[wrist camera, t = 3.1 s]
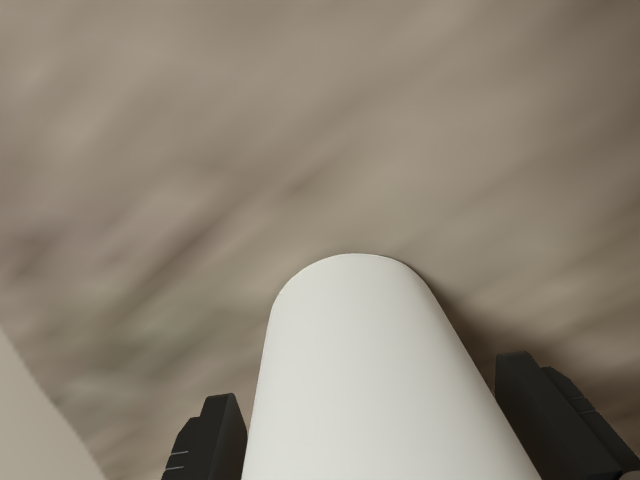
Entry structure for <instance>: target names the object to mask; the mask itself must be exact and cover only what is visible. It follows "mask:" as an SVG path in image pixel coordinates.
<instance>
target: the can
mask: <svg viewBox="0 0 640 480" xmlns="http://www.w3.org/2000/svg"><path fill="white" fill-rule="evenodd" d="M241 480H542V479H541V477H540V476H539V474H538V472H537V470H536V469H535V467H534V465H533V464H532V462H531V460H530V458H529V457H528V455H527V453H526V452H525V450H524V448H523V446H522V445H521V443H520V441H519V440H518V438H517V436H516V434H515V433H514V431H513V429H512V428H511V426H510V424H509V422H508V421H507V419H506V417H505V416H504V414H503V412H502V410H501V409H500V407H499V405H498V404H497V402H496V400H495V398H494V397H493V395H492V393H491V392H490V390H489V388H488V386H487V385H486V383H485V381H484V380H483V378H482V376H481V374H480V373H479V371H478V369H477V368H476V366H475V364H474V363H473V361H472V359H471V357H470V356H469V354H468V352H467V351H466V349H465V347H464V345H463V344H462V342H461V340H460V339H459V337H458V335H457V334H456V332H455V330H454V329H453V327H452V325H451V323H450V322H449V320H448V318H447V317H446V315H445V313H444V312H443V310H442V308H441V307H440V305H439V303H438V302H437V300H436V298H435V297H434V295H433V294H432V292H431V291H430V289H429V287H428V286H427V285H426V283H425V282H424V281H423V280H422V279H421V278H420V277H419V276H418V275H417V274H416V273H415V272H414V271H413V270H412V269H410V268H409V267H408V266H406V265H405V264H403V263H401V262H399V261H397V260H394V259H391V258H388V257H384V256H379V255H372V254H342V255H336V256H332V257H328V258H325V259H322V260H320V261H318V262H315V263H313V264H311V265H309V266H308V267H306V268H304V269H303V270H301V271H300V272H299V273H297V274H296V275H295V276H294V277H293V278H291V279H290V280H289V281H288V282H287V284H286V285H285V286H284V287H283V288H282V290H281V291H280V293H279V294H278V296H277V298H276V300H275V302H274V304H273V307H272V310H271V313H270V318H269V322H268V327H267V333H266V338H265V344H264V349H263V355H262V361H261V367H260V372H259V378H258V384H257V390H256V395H255V401H254V407H253V413H252V419H251V425H250V430H249V436H248V442H247V448H246V454H245V460H244V466H243V472H242V478H241Z"/></svg>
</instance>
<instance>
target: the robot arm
mask: <svg viewBox="0 0 640 480" xmlns="http://www.w3.org/2000/svg"><path fill="white" fill-rule="evenodd" d="M495 397H496V402H497V404H498V405H499V407H500V409H501V410H502V412H503V414H504V416H505V417H506V419H507V421H508V422H509V424H510V426H511V428H512V429H513V431H514V433H515V434H516V436H517V438H518V440H519V441H520V443H521V445H522V446H523V448H524V450H525V452H526V453H527V455H528V457H529V458H530V460H531V462H532V464H533V465H534V467H535V469H536V470H537V472H538V474H539V476H540V477H541V479H542V480H640V459H639V458H638V457H637V456H636V455H635V454H634V453H633V451H632V450H631V449H630V448H629V447H628V446H627V445H626V443H625V442H624V441H623V440H622V439H621V438H620V437H619V435H618V434H617V433H616V432H615V431H614V430H613V429H612V427H611V426H610V425H609V424H608V423H607V422H606V421H605V419H604V418H603V417H602V416H601V415H600V414H599V413H598V412H596V410H595V408H594V407H593V406H592V404H591V403H590V402H589V401H588V400H587V399H585V398H584V396H583V394H582V393H581V392H580V391H579V390H578V388H577V387H576V386H575V385H574V384H573V383H572V382H571V380H570V379H568V378H567V377H565V376H564V375H562V374H561V373H559V372H558V371H556V370H555V369H553V368H551V367H543V368H540V367H539V365H538V364H537V363H536V362H535V360H534V359H533V358H532V357H531V355H530V354H529V353H528V352H526V351H518V352H512V353H505V354H498V355H497V357H496V377H495ZM247 442H248V438H247V430H246V426H245V423H244V420H243V417H242V415H241V412H240V409H239V406H238V403H237V400H236V397H235V395H234V394H233V393H228V394H221V395H214V396H208V397H207V398H206V400H205V402H204V405H203V408H202V411H201V414H200V417H193V418H190V419H189V420H188V422H187V423H186V424H185V426H184V427H183V428H182V430H181V431H180V432H179V434H178V435H177V438H176V441H175V443H174V446H173V449H172V452H171V456H170V457H169V460H168V462H167V465H166V471H165V472H164V473H163V476H162V479H161V480H241V478H242V472H243V466H244V460H245V454H246V448H247Z"/></svg>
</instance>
